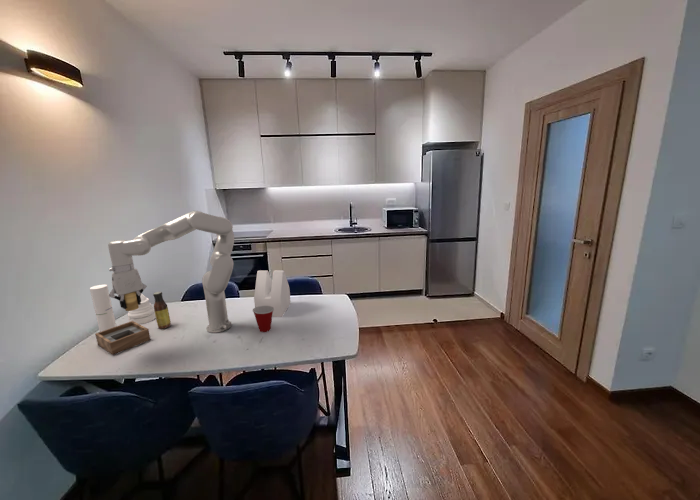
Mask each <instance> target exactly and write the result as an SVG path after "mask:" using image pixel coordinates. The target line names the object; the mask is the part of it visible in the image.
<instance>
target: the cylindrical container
mask: <svg viewBox="0 0 700 500" xmlns="http://www.w3.org/2000/svg"><path fill="white" fill-rule="evenodd" d="M89 292H90V295H91V300H92V304H93V309H94V313H95V316H96V321H97V325H98V330H99V332H102V331H104V330H107V329H110V328H113V327H116V326H117V323H116V318H115V314H114V310H113V306H112V305H113V304H112V301H111V297H109V294H110V292H109V287H108V284H98V285H97V284H96V285H93V286H91V287H89Z"/></svg>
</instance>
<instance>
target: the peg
mask: <svg viewBox="0 0 700 500" xmlns="http://www.w3.org/2000/svg"><path fill="white" fill-rule="evenodd" d="M124 300H125V302H126V307H127V308H126V309H124V310H125V311H126V312H129V311H132V310H136V309H138V308H139V306H138V301H137V296H136V291H135V292H132V293H128V294H125V295H124Z"/></svg>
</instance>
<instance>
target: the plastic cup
mask: <svg viewBox="0 0 700 500" xmlns="http://www.w3.org/2000/svg"><path fill="white" fill-rule="evenodd" d="M273 310H274V307H272V306H258V307H255V306H254V308H252V312H253V315H254V317H255V321H256V324H257V327H258V328H257V329H258V330H259V332H260V333H267V331H268V332H269V330H270V329H272V319H273V317H272V313H273Z"/></svg>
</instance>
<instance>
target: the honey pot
mask: <svg viewBox="0 0 700 500" xmlns="http://www.w3.org/2000/svg"><path fill="white" fill-rule="evenodd" d="M140 298H141V302H140V303H141V304H140V305H139V304H138V306H139V308H138V309H136V310H132V311H128V313H127V318H128V322H131V321H134V322H136V323H138V324H140V325H142V324H147V323H150V322H153V321H154V320H156V316H155V311H154V305H152V302H150V298H148V297H146V296H145V295H144V294H143V293H141V296H140Z"/></svg>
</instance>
